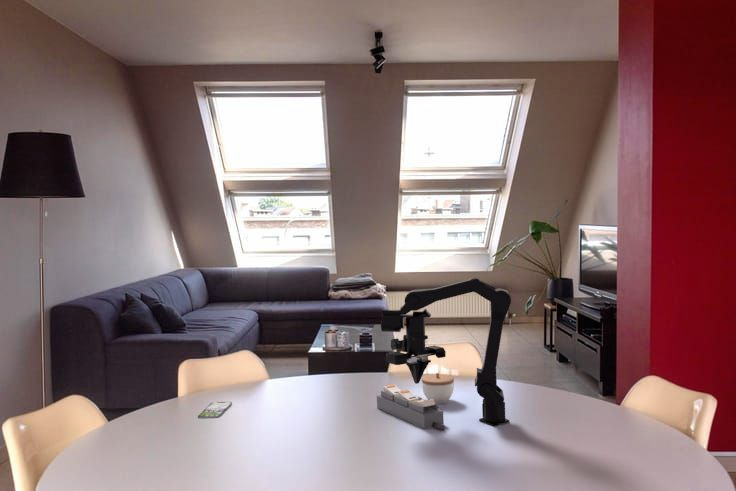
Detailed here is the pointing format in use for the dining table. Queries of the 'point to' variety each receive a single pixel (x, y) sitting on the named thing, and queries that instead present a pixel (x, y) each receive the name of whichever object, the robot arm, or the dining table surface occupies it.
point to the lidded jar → (438, 387)
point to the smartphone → (215, 410)
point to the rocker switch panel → (411, 411)
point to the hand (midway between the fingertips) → (416, 383)
